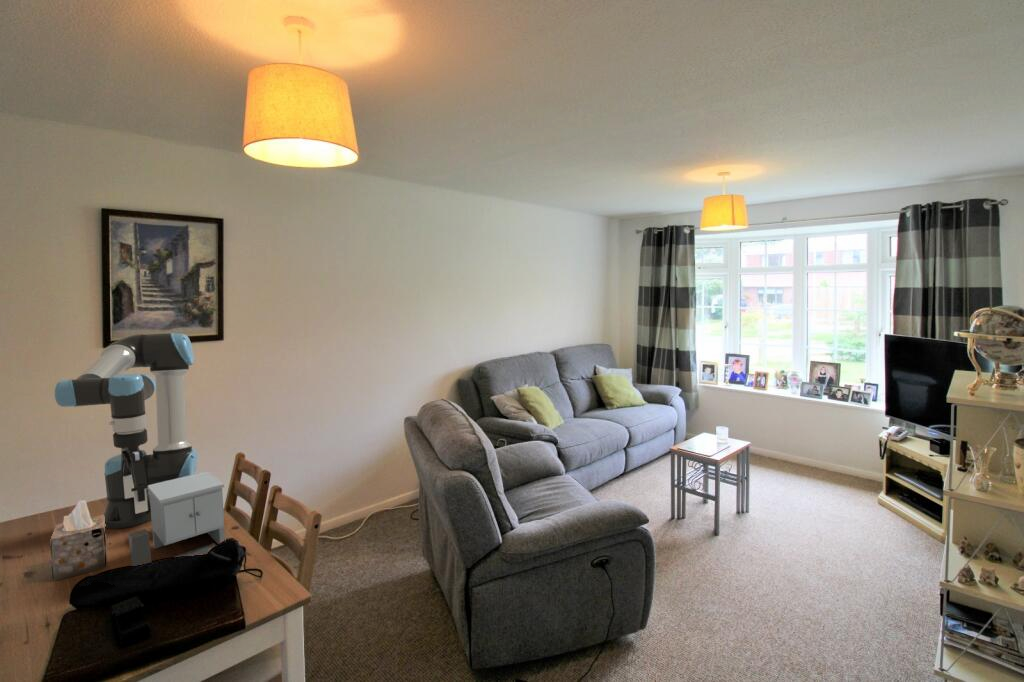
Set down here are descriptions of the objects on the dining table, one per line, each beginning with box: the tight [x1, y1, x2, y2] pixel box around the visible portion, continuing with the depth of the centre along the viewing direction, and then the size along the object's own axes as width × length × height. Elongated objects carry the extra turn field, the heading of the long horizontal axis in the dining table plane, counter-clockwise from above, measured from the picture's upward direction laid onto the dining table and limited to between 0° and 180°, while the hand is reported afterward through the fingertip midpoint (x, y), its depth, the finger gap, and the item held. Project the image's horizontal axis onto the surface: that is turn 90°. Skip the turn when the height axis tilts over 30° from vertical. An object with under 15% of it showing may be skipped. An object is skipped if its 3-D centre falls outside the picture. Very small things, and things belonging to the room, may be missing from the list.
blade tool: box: [128, 528, 216, 567], centre depth 151 cm, size 4×21×12 cm, turn 138°
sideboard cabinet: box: [147, 471, 226, 549], centre depth 159 cm, size 17×17×20 cm
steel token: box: [189, 548, 209, 556], centre depth 152 cm, size 5×5×2 cm
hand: (136, 504), depth 143 cm, fingers open, 13 cm apart
